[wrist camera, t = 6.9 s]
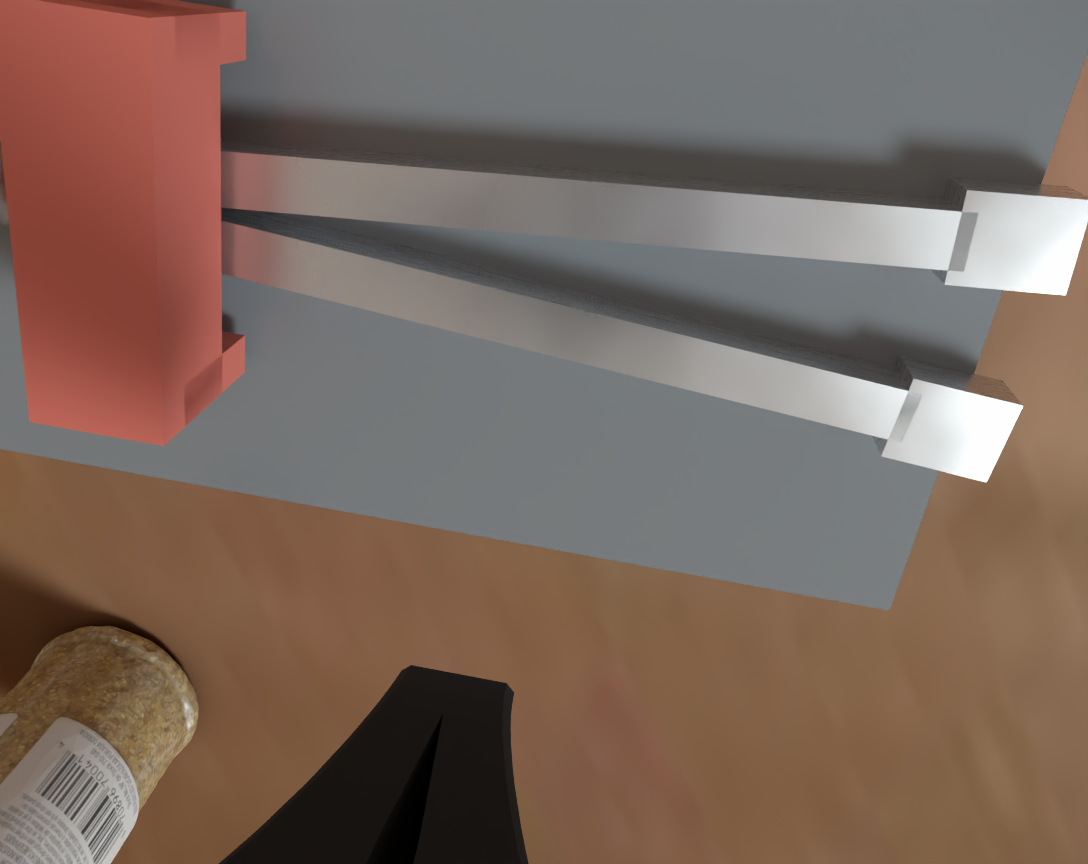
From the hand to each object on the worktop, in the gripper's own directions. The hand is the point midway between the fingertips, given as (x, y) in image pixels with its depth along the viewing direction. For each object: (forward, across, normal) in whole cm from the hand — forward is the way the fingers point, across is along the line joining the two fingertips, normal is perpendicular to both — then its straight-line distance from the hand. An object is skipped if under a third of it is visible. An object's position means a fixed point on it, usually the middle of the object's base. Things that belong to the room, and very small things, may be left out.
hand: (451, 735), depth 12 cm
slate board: (+10, +2, -4) cm, 11 cm away
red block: (+8, +7, -4) cm, 12 cm away
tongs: (+9, +2, -4) cm, 10 cm away
